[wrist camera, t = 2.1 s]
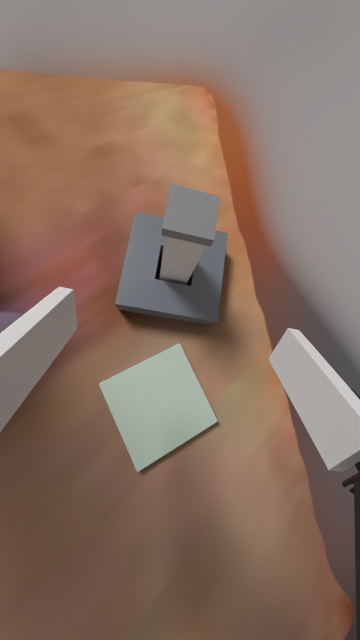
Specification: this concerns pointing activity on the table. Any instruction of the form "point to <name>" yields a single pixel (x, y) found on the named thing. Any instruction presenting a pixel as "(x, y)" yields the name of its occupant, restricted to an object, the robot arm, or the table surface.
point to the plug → (186, 231)
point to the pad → (157, 405)
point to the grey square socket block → (162, 296)
